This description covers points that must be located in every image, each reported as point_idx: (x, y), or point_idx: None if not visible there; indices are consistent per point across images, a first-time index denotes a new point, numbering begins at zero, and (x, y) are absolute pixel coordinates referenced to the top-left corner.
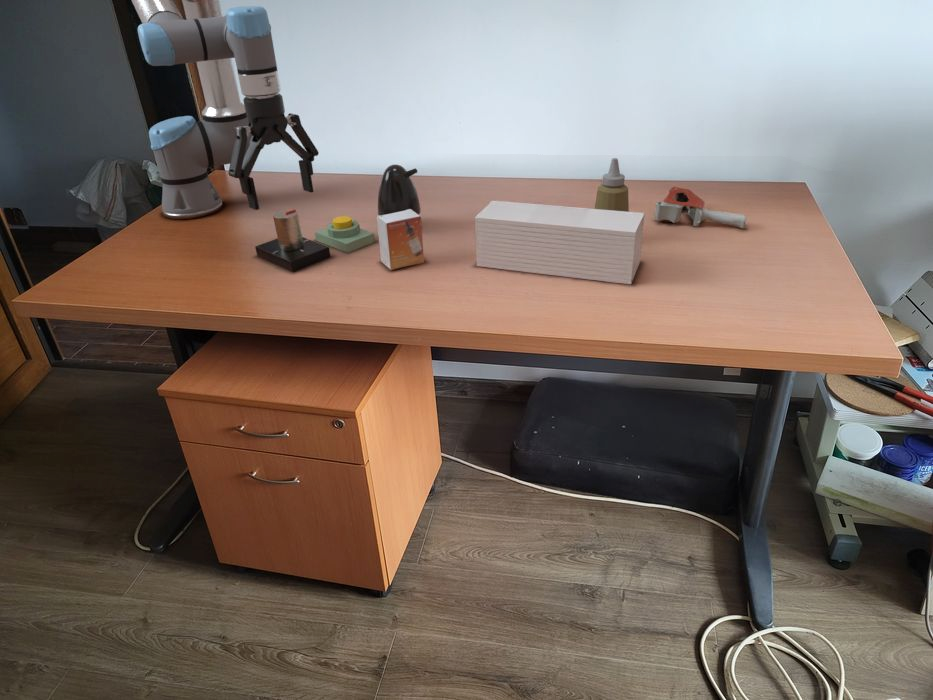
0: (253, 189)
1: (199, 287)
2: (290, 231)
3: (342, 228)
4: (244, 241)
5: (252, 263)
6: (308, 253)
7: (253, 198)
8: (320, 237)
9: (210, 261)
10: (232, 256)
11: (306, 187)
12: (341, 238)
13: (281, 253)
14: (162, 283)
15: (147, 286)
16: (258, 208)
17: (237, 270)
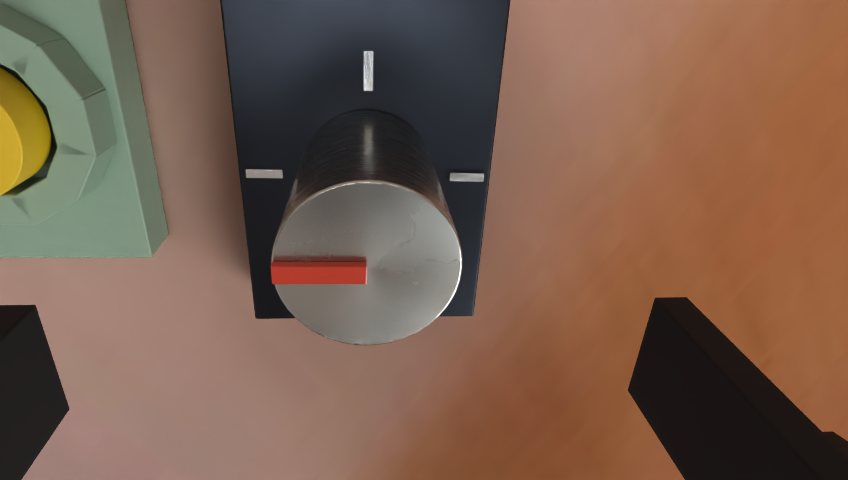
0: (819, 448)
1: (787, 212)
2: (401, 149)
3: (3, 74)
4: (394, 441)
5: (521, 246)
6: (368, 1)
7: (758, 373)
8: (150, 203)
9: (588, 379)
10: (515, 361)
11: (29, 387)
12: (68, 39)
13: (459, 140)
14: (797, 341)
15: (830, 356)
16: (666, 302)
17: (603, 234)
